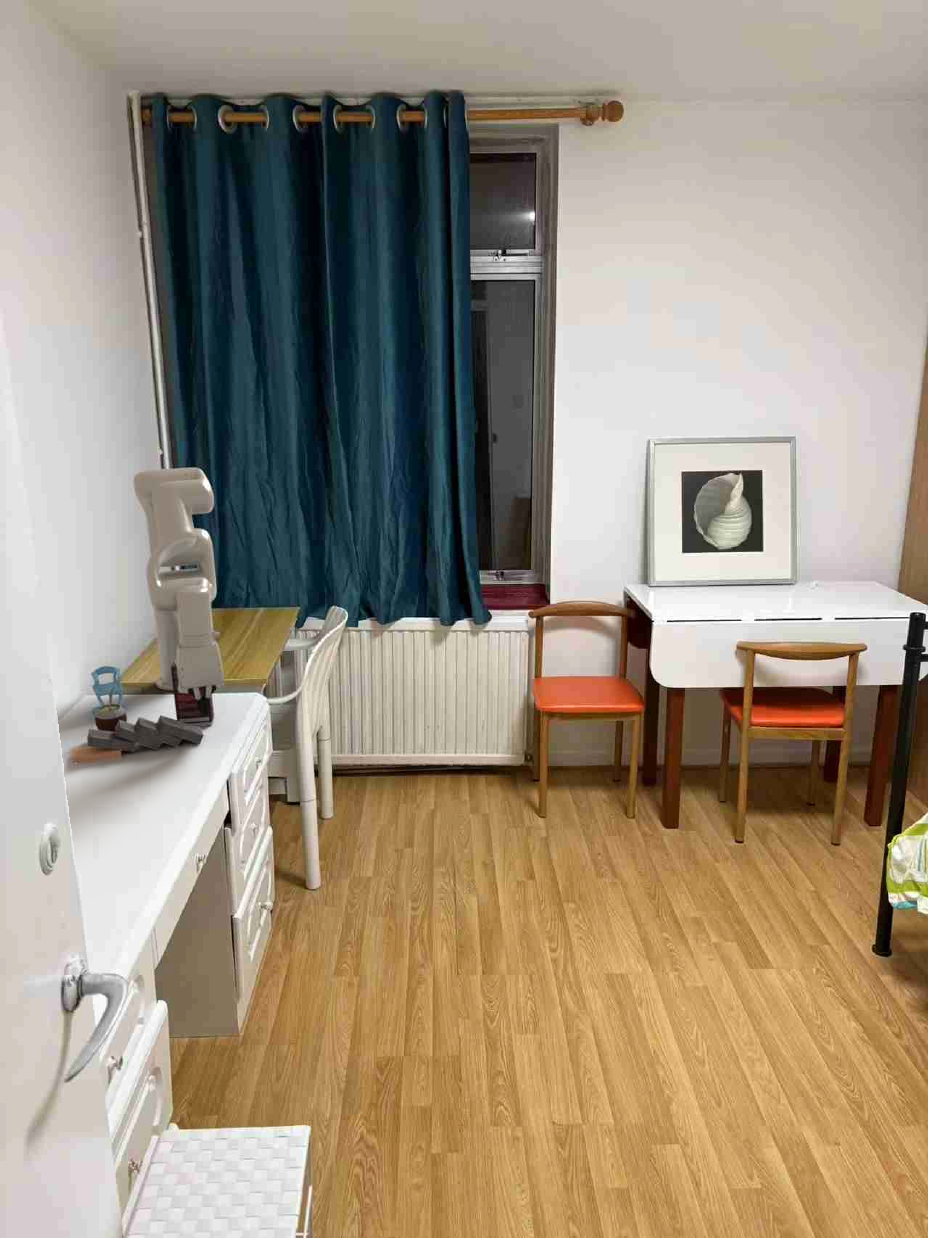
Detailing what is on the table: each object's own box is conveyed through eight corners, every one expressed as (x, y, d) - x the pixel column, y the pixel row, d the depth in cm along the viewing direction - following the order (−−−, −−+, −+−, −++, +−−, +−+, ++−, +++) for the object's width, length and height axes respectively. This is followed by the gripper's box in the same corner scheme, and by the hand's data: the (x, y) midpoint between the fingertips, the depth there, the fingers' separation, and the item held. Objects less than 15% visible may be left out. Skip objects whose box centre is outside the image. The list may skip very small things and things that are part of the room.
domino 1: (132, 743, 225) (87, 737, 220) (134, 734, 224) (89, 728, 220) (133, 751, 220) (87, 746, 216) (135, 742, 220) (90, 737, 216)
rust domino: (120, 750, 224) (74, 758, 220) (119, 741, 223) (73, 749, 220) (121, 758, 220) (74, 766, 216) (120, 750, 219) (73, 757, 215)
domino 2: (155, 742, 227) (114, 727, 222) (159, 734, 227) (119, 719, 222) (157, 750, 222) (116, 735, 218) (161, 742, 222) (120, 727, 218)
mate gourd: (108, 732, 233) (101, 674, 228) (138, 734, 231) (131, 676, 227) (90, 744, 226) (83, 685, 221) (121, 747, 224) (114, 687, 220)
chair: (98, 722, 239) (92, 677, 235) (92, 710, 246) (86, 666, 242) (130, 715, 243) (125, 671, 239) (123, 704, 250) (118, 661, 246)
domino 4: (196, 735, 230) (156, 723, 226) (200, 727, 230) (160, 715, 225) (199, 743, 226) (159, 731, 221) (203, 735, 226) (163, 722, 221)
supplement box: (214, 718, 241) (209, 658, 236) (212, 725, 236) (206, 664, 232) (179, 720, 240) (173, 660, 235) (176, 727, 235) (170, 666, 230)
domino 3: (174, 739, 228) (134, 725, 224) (179, 731, 228) (139, 716, 224) (177, 747, 224) (136, 733, 219) (181, 739, 224) (140, 724, 219)
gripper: (227, 630, 228) (233, 702, 233) (161, 638, 222) (169, 712, 227) (232, 639, 221) (238, 713, 226) (165, 648, 215) (173, 723, 221)
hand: (204, 712), depth 227 cm, fingers closed
